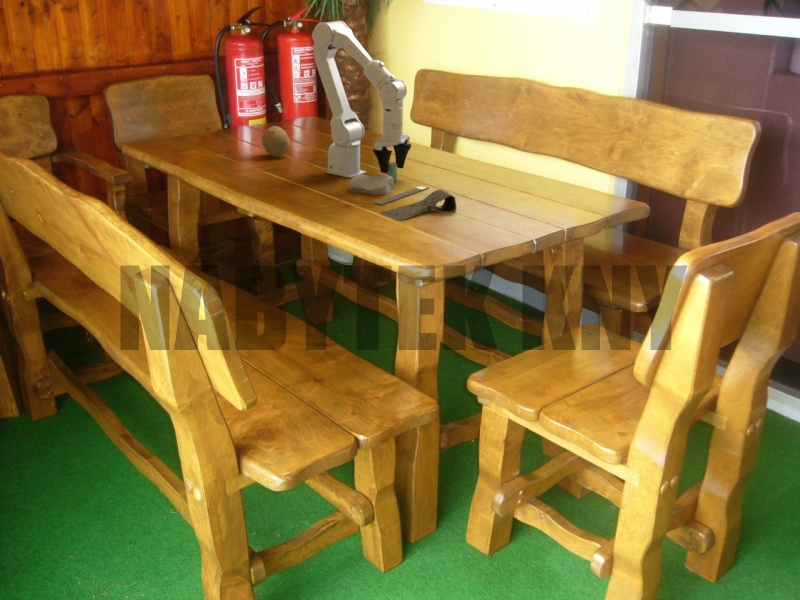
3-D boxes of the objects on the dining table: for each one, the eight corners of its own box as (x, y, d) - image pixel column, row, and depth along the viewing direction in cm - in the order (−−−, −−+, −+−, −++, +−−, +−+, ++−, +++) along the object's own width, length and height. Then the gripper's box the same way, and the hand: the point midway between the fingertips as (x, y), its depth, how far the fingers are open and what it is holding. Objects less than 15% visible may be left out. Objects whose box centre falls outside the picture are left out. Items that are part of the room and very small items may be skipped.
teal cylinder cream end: (384, 181, 242) (384, 162, 240) (390, 179, 245) (390, 161, 242) (392, 182, 241) (393, 164, 239) (398, 180, 243) (399, 162, 241)
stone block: (387, 202, 228) (395, 186, 236) (386, 187, 226) (394, 171, 234) (346, 200, 231) (356, 185, 239) (344, 185, 228) (354, 169, 236)
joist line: (374, 203, 220) (374, 202, 220) (421, 187, 237) (421, 185, 237) (382, 205, 219) (382, 203, 219) (428, 188, 236) (428, 187, 235)
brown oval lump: (260, 154, 271) (259, 123, 267) (287, 153, 273) (286, 122, 269) (264, 160, 263) (263, 129, 259) (292, 159, 265) (291, 128, 261)
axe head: (391, 217, 204) (373, 206, 212) (393, 235, 207) (376, 224, 215) (462, 195, 212) (442, 185, 220) (463, 213, 214) (444, 203, 222)
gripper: (388, 129, 229) (388, 177, 234) (418, 121, 239) (417, 167, 245) (368, 126, 232) (368, 173, 238) (398, 118, 243) (398, 164, 248)
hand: (392, 170), depth 241 cm, fingers open, 7 cm apart
